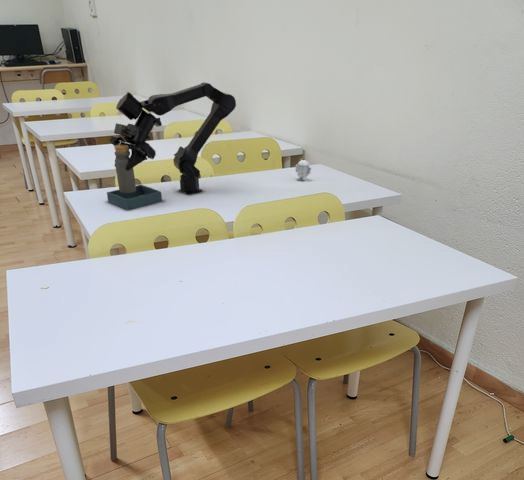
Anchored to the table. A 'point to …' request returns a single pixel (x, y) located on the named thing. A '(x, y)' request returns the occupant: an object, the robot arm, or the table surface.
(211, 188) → the table surface
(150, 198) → the basin
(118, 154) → the bottle
